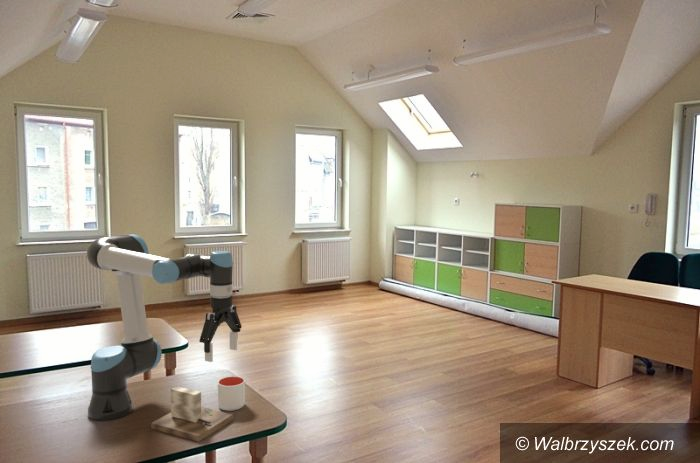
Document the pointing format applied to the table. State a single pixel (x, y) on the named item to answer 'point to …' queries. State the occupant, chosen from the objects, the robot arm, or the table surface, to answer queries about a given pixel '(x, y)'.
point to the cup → (231, 393)
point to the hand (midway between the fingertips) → (221, 355)
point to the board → (193, 424)
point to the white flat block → (186, 404)
